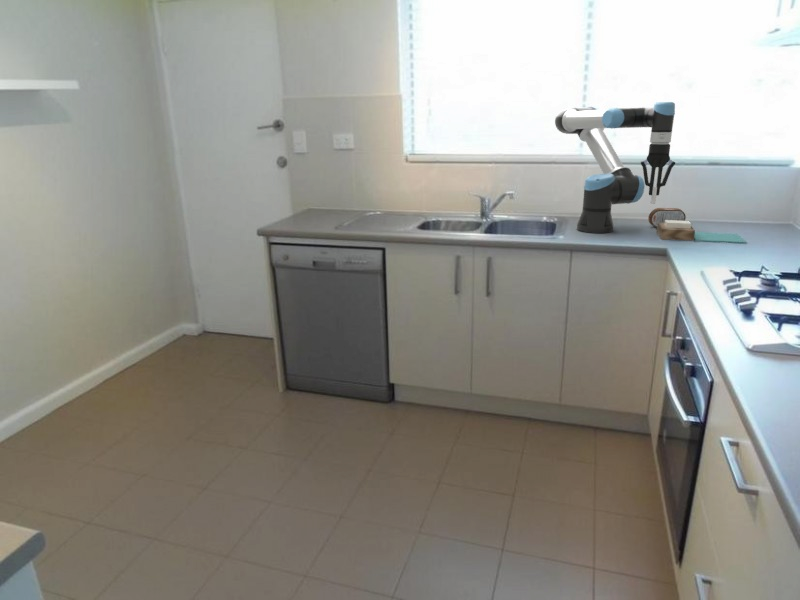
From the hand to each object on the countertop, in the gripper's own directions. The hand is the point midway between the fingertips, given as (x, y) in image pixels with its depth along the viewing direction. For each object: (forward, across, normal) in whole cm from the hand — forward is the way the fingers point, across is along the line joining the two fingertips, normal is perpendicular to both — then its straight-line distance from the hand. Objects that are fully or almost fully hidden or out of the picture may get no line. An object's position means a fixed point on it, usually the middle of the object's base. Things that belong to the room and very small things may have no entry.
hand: (652, 203), depth 233 cm
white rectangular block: (+9, +10, 0) cm, 14 cm away
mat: (+13, +25, 0) cm, 29 cm away
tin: (+13, +9, +19) cm, 25 cm away
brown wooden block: (+13, +10, 0) cm, 16 cm away
